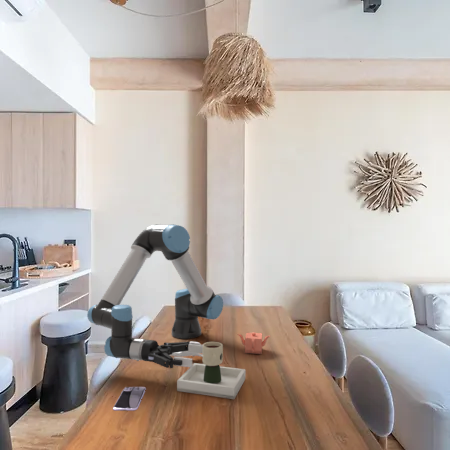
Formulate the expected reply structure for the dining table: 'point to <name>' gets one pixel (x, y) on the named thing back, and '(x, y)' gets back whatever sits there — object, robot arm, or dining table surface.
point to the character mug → (212, 361)
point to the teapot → (253, 342)
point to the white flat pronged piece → (186, 353)
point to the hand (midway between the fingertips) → (198, 356)
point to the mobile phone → (130, 398)
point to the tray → (225, 389)
